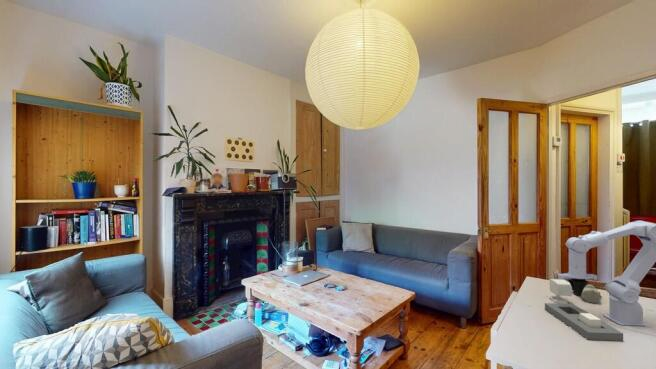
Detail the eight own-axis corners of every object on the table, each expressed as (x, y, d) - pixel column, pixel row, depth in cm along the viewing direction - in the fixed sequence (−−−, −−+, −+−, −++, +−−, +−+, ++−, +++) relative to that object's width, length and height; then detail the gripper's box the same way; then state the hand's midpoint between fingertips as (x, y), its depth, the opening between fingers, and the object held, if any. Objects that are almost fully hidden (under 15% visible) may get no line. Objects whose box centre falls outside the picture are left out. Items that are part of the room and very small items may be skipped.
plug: (590, 326, 111) (590, 313, 111) (601, 333, 106) (600, 319, 106) (579, 326, 112) (579, 313, 111) (589, 333, 107) (589, 319, 106)
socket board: (572, 310, 125) (572, 303, 125) (623, 341, 101) (623, 333, 101) (544, 309, 127) (544, 303, 126) (588, 340, 103) (588, 332, 103)
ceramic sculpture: (578, 284, 133) (570, 276, 146) (578, 302, 132) (570, 292, 145) (608, 288, 127) (596, 279, 140) (608, 307, 127) (597, 296, 140)
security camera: (572, 304, 131) (572, 284, 131) (555, 303, 132) (555, 283, 132) (563, 298, 137) (563, 279, 137) (547, 297, 138) (547, 278, 138)
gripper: (587, 262, 123) (587, 291, 123) (553, 262, 124) (553, 291, 125) (601, 267, 116) (601, 298, 116) (564, 267, 117) (564, 297, 118)
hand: (577, 295), depth 120 cm, fingers closed
